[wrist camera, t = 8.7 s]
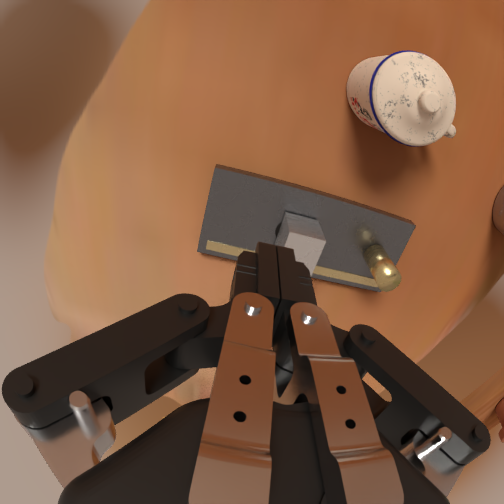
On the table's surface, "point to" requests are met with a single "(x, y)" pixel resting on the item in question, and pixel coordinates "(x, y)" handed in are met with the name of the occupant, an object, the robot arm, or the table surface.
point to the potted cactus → (501, 417)
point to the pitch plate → (311, 206)
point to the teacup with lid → (403, 97)
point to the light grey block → (302, 238)
